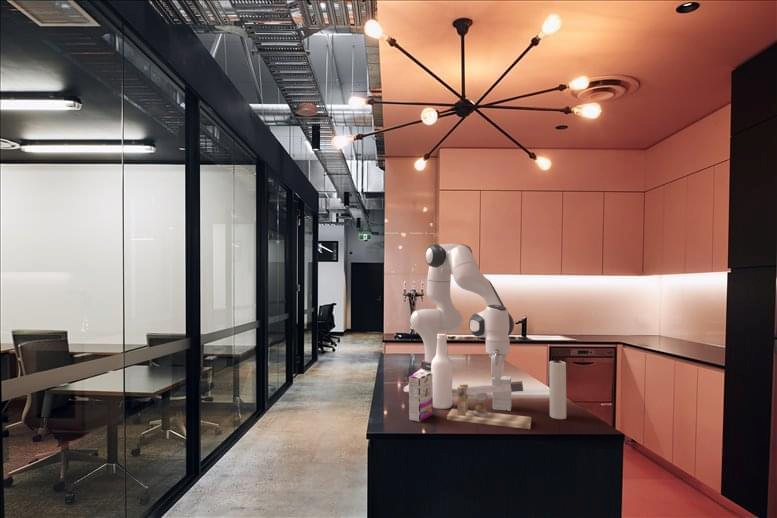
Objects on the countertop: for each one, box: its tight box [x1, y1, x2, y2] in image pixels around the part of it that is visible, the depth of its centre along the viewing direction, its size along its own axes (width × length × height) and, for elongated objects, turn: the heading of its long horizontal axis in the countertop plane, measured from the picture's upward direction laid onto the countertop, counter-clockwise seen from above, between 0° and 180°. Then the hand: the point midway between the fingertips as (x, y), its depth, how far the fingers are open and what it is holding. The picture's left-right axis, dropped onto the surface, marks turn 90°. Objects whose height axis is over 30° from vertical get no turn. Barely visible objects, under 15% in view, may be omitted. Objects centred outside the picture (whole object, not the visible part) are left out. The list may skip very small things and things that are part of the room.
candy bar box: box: [408, 372, 434, 423], centre depth 173 cm, size 11×5×16 cm, turn 148°
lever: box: [466, 380, 524, 401], centre depth 170 cm, size 24×4×5 cm, turn 71°
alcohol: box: [431, 333, 453, 410], centre depth 189 cm, size 9×9×30 cm
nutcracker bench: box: [446, 383, 532, 430], centre depth 170 cm, size 30×10×12 cm, turn 70°
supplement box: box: [491, 375, 513, 412], centre depth 187 cm, size 7×7×13 cm
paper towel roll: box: [548, 360, 567, 420], centre depth 175 cm, size 7×6×21 cm
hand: (497, 385), depth 169 cm, fingers closed, pressing on lever
